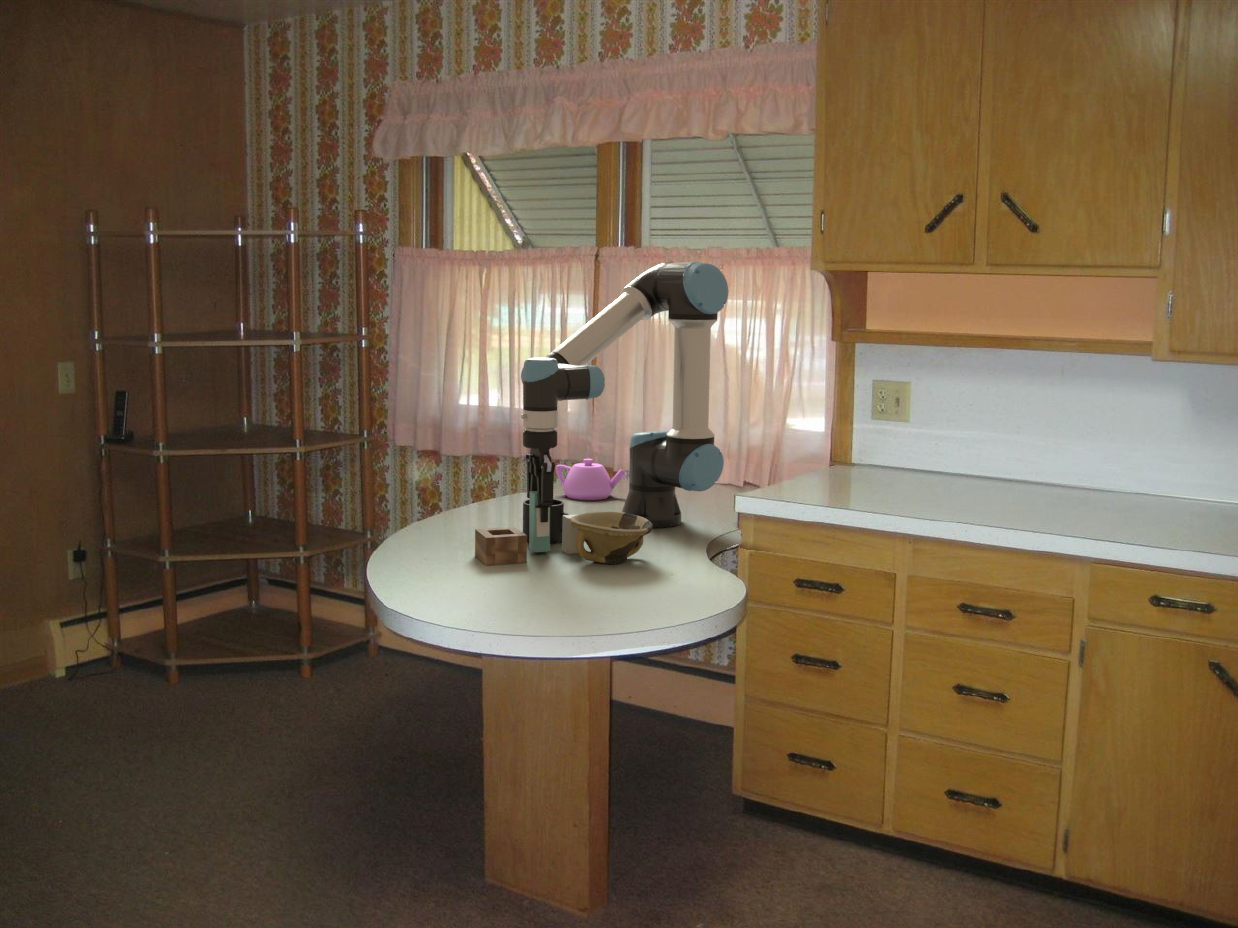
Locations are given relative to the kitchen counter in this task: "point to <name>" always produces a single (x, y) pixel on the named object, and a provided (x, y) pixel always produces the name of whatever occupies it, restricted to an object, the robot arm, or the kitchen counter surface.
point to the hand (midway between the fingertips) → (539, 533)
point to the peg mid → (569, 535)
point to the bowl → (609, 535)
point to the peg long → (535, 542)
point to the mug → (555, 520)
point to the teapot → (588, 480)
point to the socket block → (500, 546)
